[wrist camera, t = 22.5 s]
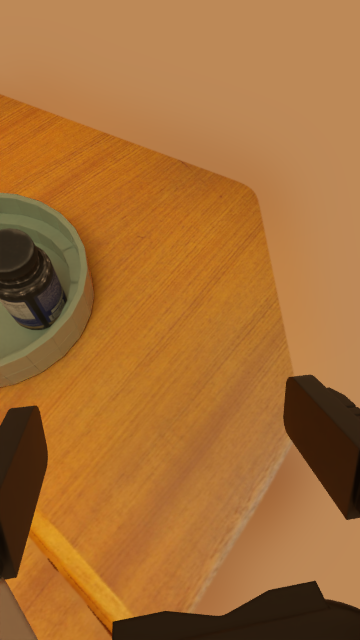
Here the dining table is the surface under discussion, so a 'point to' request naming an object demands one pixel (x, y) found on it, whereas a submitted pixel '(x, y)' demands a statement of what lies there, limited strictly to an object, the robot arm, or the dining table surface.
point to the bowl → (76, 280)
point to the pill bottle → (28, 282)
